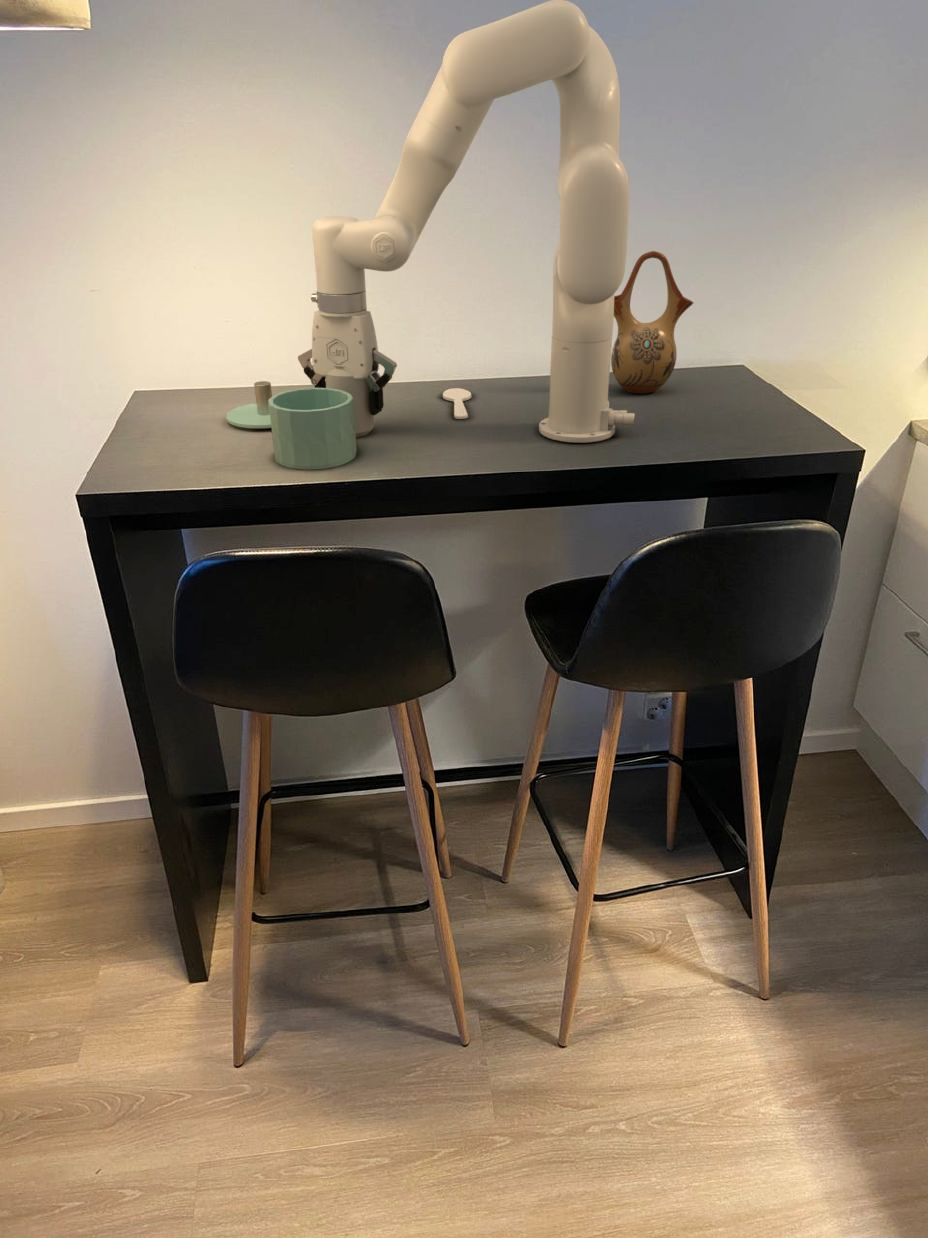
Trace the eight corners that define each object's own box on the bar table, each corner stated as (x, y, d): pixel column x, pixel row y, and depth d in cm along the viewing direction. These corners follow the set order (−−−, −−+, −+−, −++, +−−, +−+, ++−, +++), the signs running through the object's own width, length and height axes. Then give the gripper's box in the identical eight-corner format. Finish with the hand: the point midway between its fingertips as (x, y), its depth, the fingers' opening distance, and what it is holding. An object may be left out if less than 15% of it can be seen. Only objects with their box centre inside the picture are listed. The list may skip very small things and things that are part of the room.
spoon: (446, 419, 158) (446, 416, 158) (441, 390, 174) (441, 387, 174) (476, 418, 159) (476, 415, 158) (469, 389, 174) (469, 387, 174)
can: (367, 440, 149) (362, 366, 143) (323, 437, 151) (317, 364, 145) (380, 426, 156) (376, 355, 150) (338, 423, 157) (332, 353, 151)
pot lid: (315, 409, 164) (312, 374, 161) (291, 433, 153) (288, 395, 150) (243, 406, 166) (238, 371, 163) (214, 430, 154) (209, 392, 151)
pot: (364, 444, 148) (361, 388, 143) (344, 471, 137) (339, 412, 132) (289, 441, 149) (284, 386, 145) (263, 467, 138) (256, 409, 134)
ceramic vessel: (677, 383, 177) (692, 246, 165) (689, 397, 170) (706, 253, 157) (593, 385, 177) (602, 247, 164) (602, 399, 169) (612, 255, 156)
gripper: (282, 303, 142) (292, 411, 151) (382, 310, 137) (387, 421, 146) (305, 295, 149) (314, 399, 157) (402, 301, 143) (406, 408, 152)
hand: (350, 410), depth 151 cm, fingers open, 9 cm apart
